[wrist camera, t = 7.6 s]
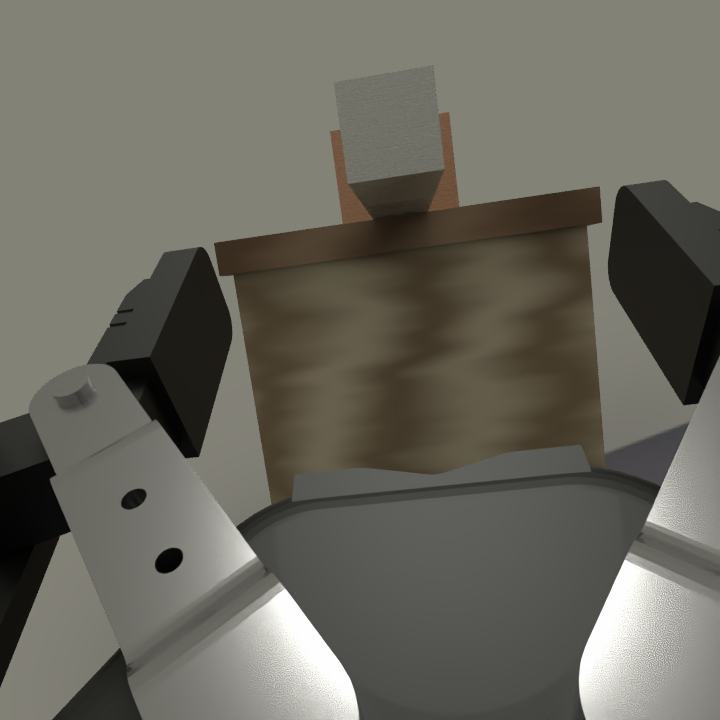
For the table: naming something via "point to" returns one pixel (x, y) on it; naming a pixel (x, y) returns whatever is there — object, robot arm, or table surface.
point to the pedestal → (422, 337)
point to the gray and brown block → (392, 147)
